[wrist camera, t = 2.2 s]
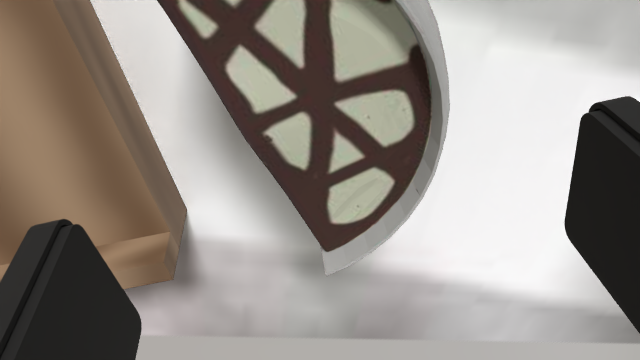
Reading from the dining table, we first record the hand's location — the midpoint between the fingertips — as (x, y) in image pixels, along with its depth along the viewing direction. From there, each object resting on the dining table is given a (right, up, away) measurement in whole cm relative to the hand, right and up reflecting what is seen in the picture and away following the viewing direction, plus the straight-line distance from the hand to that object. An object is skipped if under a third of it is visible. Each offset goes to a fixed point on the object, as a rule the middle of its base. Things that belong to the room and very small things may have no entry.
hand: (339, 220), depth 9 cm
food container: (-1, +9, +11) cm, 14 cm away
